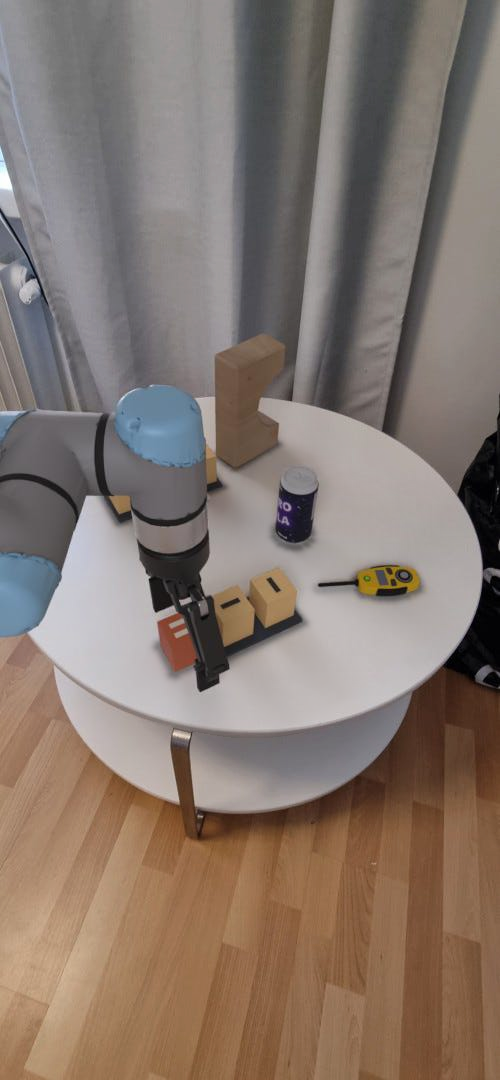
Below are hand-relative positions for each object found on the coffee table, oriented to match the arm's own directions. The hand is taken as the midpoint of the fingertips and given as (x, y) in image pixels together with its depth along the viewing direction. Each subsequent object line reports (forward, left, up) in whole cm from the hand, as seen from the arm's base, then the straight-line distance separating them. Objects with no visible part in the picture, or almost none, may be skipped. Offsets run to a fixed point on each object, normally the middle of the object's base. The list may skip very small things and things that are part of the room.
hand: (184, 644), depth 76 cm
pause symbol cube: (0, 0, -2) cm, 2 cm away
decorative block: (+28, +34, -2) cm, 44 cm away
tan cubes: (+10, +30, -2) cm, 32 cm away
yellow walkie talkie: (+28, -2, -2) cm, 28 cm away
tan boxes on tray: (+10, 0, -2) cm, 10 cm away
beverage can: (+24, +12, -2) cm, 27 cm away
